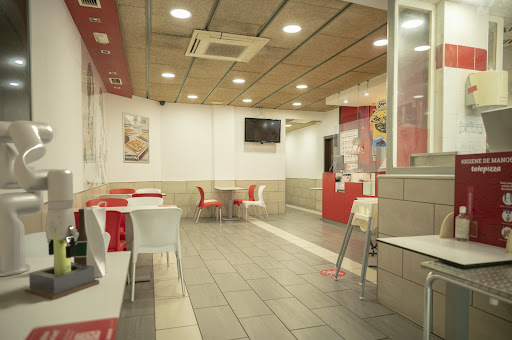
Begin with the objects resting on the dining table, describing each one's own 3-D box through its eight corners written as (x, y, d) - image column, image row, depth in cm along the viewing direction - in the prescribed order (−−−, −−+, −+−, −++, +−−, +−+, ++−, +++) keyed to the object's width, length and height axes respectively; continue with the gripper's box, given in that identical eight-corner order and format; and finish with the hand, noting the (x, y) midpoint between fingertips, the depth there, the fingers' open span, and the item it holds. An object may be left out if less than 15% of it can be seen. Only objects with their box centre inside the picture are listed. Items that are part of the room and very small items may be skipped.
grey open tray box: (24, 292, 110) (24, 273, 110) (71, 277, 124) (71, 260, 124) (53, 300, 102) (52, 280, 102) (99, 283, 117) (98, 266, 116)
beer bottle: (75, 264, 142) (73, 208, 141) (95, 262, 145) (93, 207, 144) (73, 269, 134) (71, 210, 134) (94, 266, 138) (92, 209, 137)
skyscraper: (110, 271, 131) (108, 200, 130) (106, 277, 123) (104, 202, 123) (88, 273, 129) (86, 201, 128) (83, 279, 121) (81, 203, 121)
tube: (72, 284, 112) (70, 227, 112) (54, 288, 110) (53, 228, 110) (70, 280, 117) (69, 225, 117) (53, 283, 114) (52, 226, 114)
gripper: (35, 205, 114) (36, 255, 114) (65, 207, 106) (66, 261, 106) (57, 203, 121) (58, 250, 121) (87, 205, 112) (88, 255, 112)
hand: (62, 255), depth 113 cm, fingers open, 9 cm apart
